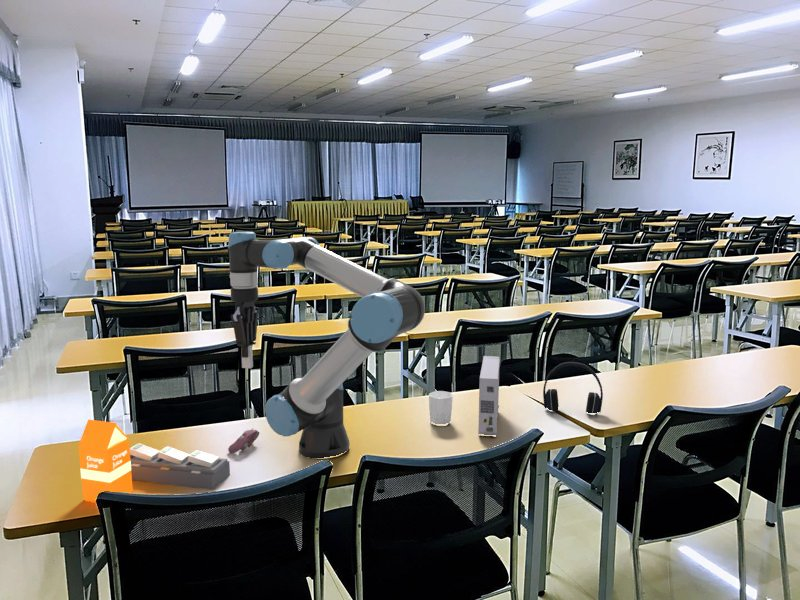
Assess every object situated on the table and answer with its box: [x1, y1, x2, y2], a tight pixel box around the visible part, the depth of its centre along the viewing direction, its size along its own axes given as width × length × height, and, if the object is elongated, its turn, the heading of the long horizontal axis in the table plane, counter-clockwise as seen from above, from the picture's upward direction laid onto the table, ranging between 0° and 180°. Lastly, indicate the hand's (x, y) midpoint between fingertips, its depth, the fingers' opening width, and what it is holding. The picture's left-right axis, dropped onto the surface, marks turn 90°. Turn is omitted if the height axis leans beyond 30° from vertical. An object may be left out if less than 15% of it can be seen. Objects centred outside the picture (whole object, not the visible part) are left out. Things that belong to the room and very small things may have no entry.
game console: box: [477, 355, 501, 436], centre depth 209 cm, size 6×27×20 cm, turn 170°
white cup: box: [428, 390, 454, 424], centre depth 210 cm, size 8×8×10 cm
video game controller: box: [227, 427, 260, 454], centre depth 190 cm, size 10×5×7 cm, turn 161°
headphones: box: [542, 361, 604, 414], centre depth 220 cm, size 20×7×18 cm, turn 74°
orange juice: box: [77, 419, 134, 503], centre depth 159 cm, size 8×9×20 cm
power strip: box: [130, 455, 231, 490], centre depth 171 cm, size 28×9×5 cm, turn 76°
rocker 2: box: [158, 445, 191, 464], centre depth 170 cm, size 7×4×2 cm, turn 76°
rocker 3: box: [188, 449, 221, 468], centre depth 168 cm, size 7×4×2 cm, turn 76°
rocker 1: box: [129, 442, 160, 461], centre depth 173 cm, size 7×4×2 cm, turn 76°
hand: (247, 367), depth 182 cm, fingers closed
